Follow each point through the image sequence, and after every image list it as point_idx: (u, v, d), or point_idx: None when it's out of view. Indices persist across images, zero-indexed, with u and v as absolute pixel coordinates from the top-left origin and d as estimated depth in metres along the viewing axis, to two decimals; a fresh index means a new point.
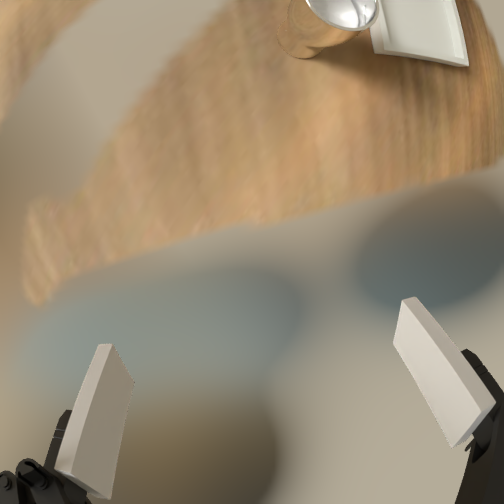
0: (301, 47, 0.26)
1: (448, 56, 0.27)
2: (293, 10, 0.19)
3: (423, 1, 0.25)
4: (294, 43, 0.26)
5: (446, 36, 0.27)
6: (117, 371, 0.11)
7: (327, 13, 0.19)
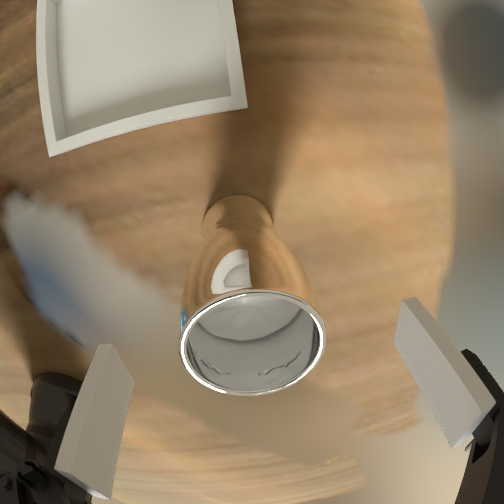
0: None
1: None
2: None
3: (103, 22, 0.16)
4: None
5: None
6: (117, 371, 0.11)
7: (253, 303, 0.16)
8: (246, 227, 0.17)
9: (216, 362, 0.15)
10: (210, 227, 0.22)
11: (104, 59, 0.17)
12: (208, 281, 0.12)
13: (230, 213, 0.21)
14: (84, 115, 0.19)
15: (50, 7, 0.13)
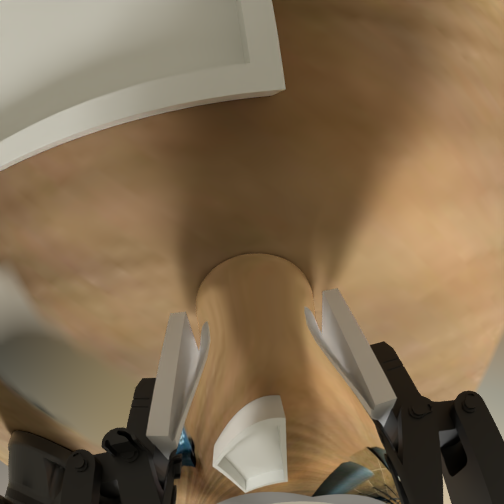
0: None
1: None
2: None
3: None
4: None
5: None
6: (189, 339, 0.13)
7: None
8: (294, 403, 0.06)
9: None
10: (208, 330, 0.11)
11: (27, 24, 0.07)
12: None
13: (246, 307, 0.11)
14: None
15: None
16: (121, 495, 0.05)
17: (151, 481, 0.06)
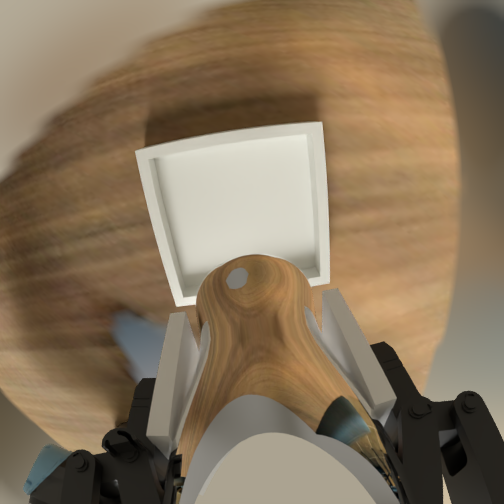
0: None
1: (318, 173, 0.25)
2: None
3: (211, 193, 0.27)
4: None
5: (267, 150, 0.26)
6: (189, 338, 0.13)
7: None
8: (295, 403, 0.06)
9: None
10: (208, 330, 0.11)
11: (216, 230, 0.29)
12: None
13: (246, 307, 0.11)
14: (200, 272, 0.30)
15: (152, 167, 0.24)
16: (121, 495, 0.05)
17: (151, 481, 0.06)
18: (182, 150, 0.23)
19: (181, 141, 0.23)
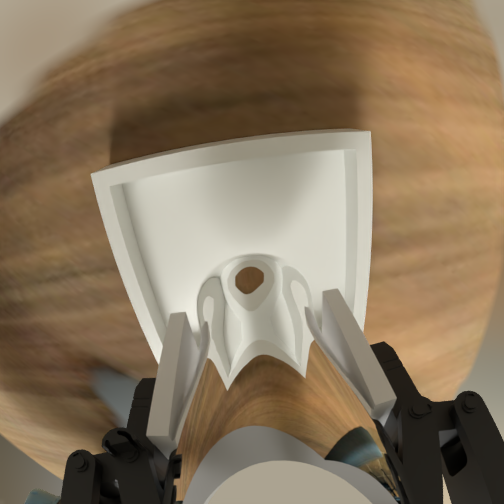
0: None
1: (361, 206, 0.17)
2: None
3: (205, 233, 0.19)
4: None
5: (286, 170, 0.17)
6: (189, 338, 0.13)
7: None
8: (295, 403, 0.06)
9: None
10: (208, 330, 0.11)
11: None
12: None
13: (246, 307, 0.11)
14: (193, 333, 0.22)
15: (117, 197, 0.16)
16: (121, 495, 0.05)
17: (151, 481, 0.06)
18: (159, 172, 0.15)
19: (157, 158, 0.15)
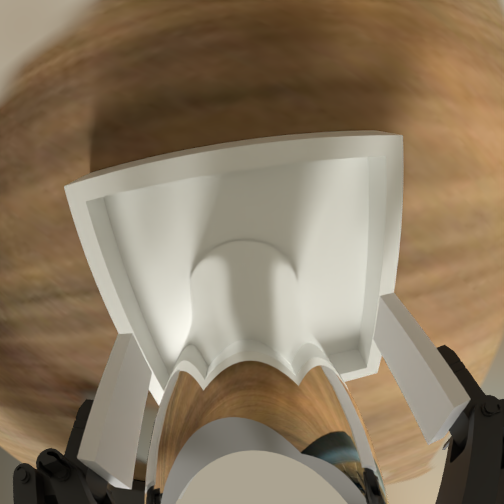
0: None
1: (389, 225, 0.14)
2: None
3: (203, 254, 0.16)
4: None
5: (301, 179, 0.14)
6: (136, 360, 0.12)
7: None
8: (264, 358, 0.08)
9: None
10: (198, 305, 0.13)
11: None
12: None
13: (232, 285, 0.12)
14: None
15: (97, 213, 0.13)
16: None
17: (84, 496, 0.05)
18: (144, 184, 0.12)
19: (141, 167, 0.12)
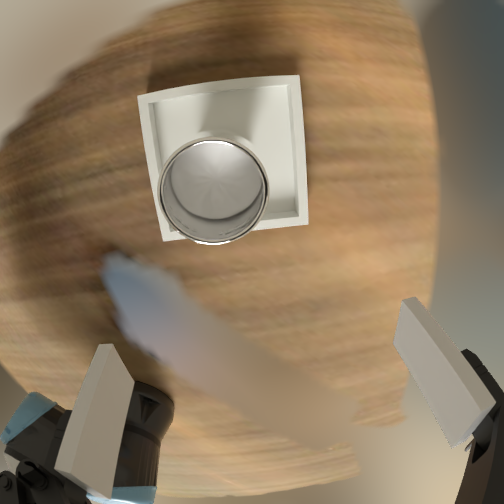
0: None
1: (295, 118, 0.27)
2: None
3: None
4: None
5: (251, 99, 0.28)
6: (117, 371, 0.11)
7: (220, 180, 0.20)
8: None
9: (187, 223, 0.19)
10: None
11: None
12: (184, 142, 0.17)
13: None
14: None
15: (151, 111, 0.26)
16: None
17: None
18: (177, 95, 0.25)
19: (177, 88, 0.25)
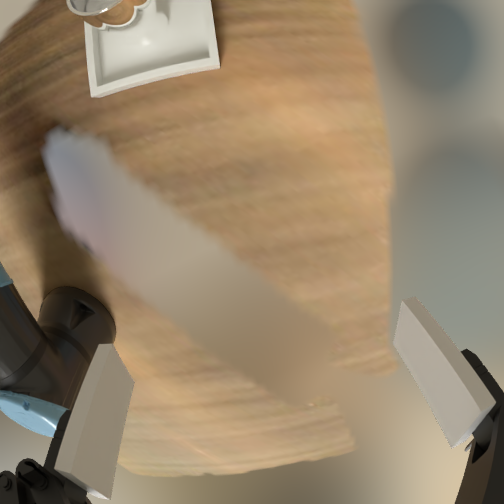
0: (156, 20, 0.23)
1: None
2: (117, 23, 0.18)
3: None
4: (152, 26, 0.24)
5: None
6: (117, 371, 0.11)
7: None
8: None
9: (86, 19, 0.16)
10: None
11: None
12: None
13: None
14: (115, 73, 0.29)
15: None
16: None
17: None
18: None
19: None
